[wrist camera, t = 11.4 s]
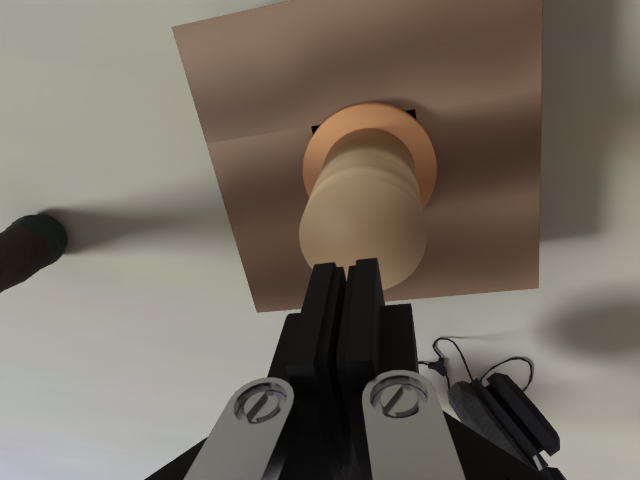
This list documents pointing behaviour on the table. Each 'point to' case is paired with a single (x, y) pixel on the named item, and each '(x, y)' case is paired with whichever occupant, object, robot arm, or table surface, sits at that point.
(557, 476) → the headphones
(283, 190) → the socket block
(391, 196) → the peg
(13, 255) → the stick grenade
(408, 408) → the robot arm
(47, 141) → the table surface
